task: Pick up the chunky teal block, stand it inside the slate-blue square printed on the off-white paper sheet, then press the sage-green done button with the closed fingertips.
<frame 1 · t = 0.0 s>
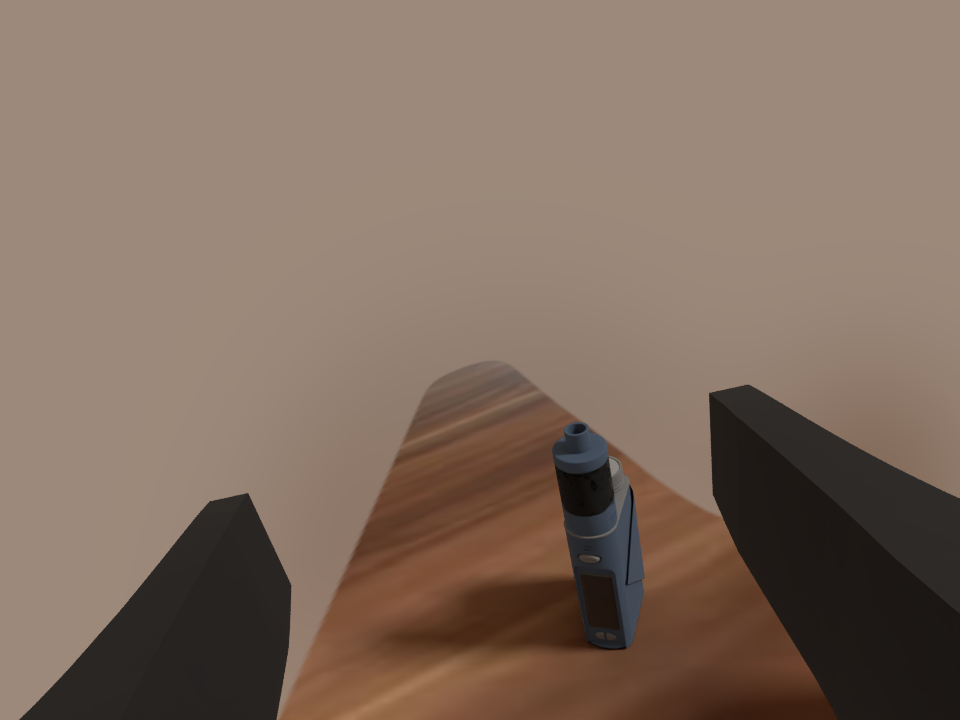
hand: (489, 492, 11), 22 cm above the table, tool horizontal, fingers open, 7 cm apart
vaping device: (616, 615, 37), on the table
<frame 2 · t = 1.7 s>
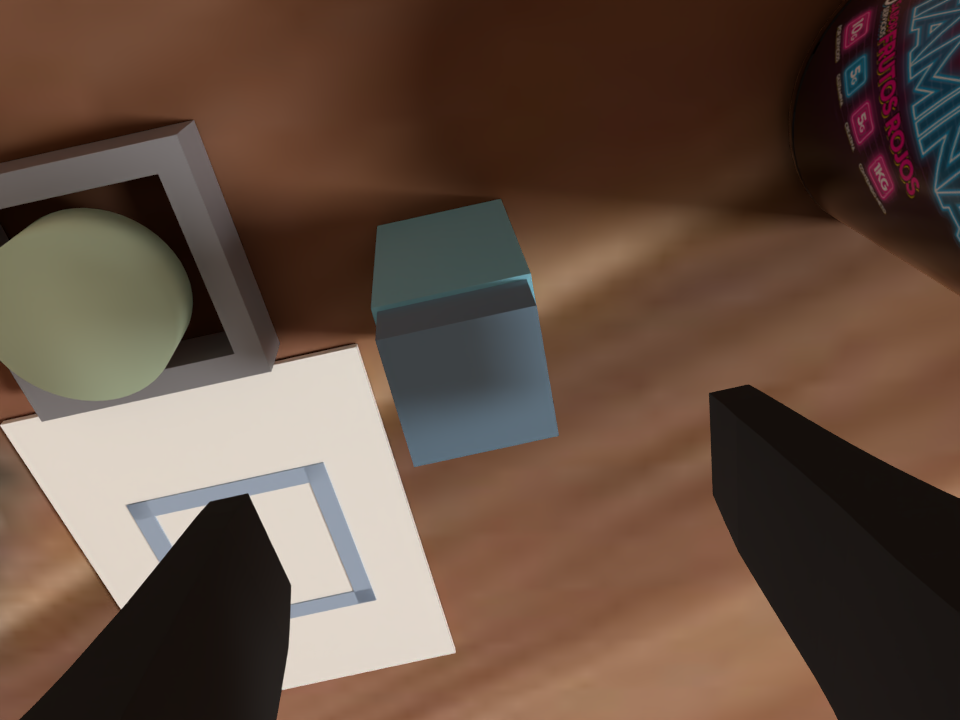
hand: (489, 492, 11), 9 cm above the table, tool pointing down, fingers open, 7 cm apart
button housing: (123, 266, 18), on the table
supplement container: (903, 91, 18), on the table
paper: (260, 550, 23), on the table
teal block: (452, 269, 19), on the table
done button: (90, 306, 16), point 2 cm above the table, slide at 0.0 cm
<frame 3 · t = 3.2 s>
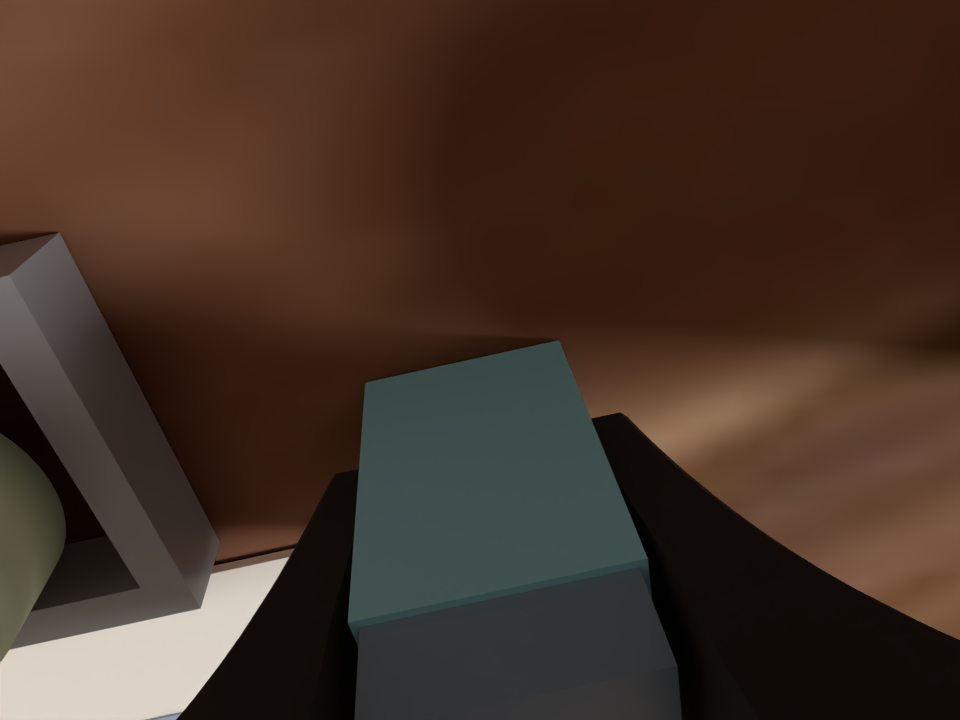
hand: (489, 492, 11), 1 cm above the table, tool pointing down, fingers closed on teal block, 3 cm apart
teal block: (480, 439, 12), on the table, touching gripper
when the fingers open (3 cm above the table, at t = 6.0 s): teal block stays where it is, resting on paper.
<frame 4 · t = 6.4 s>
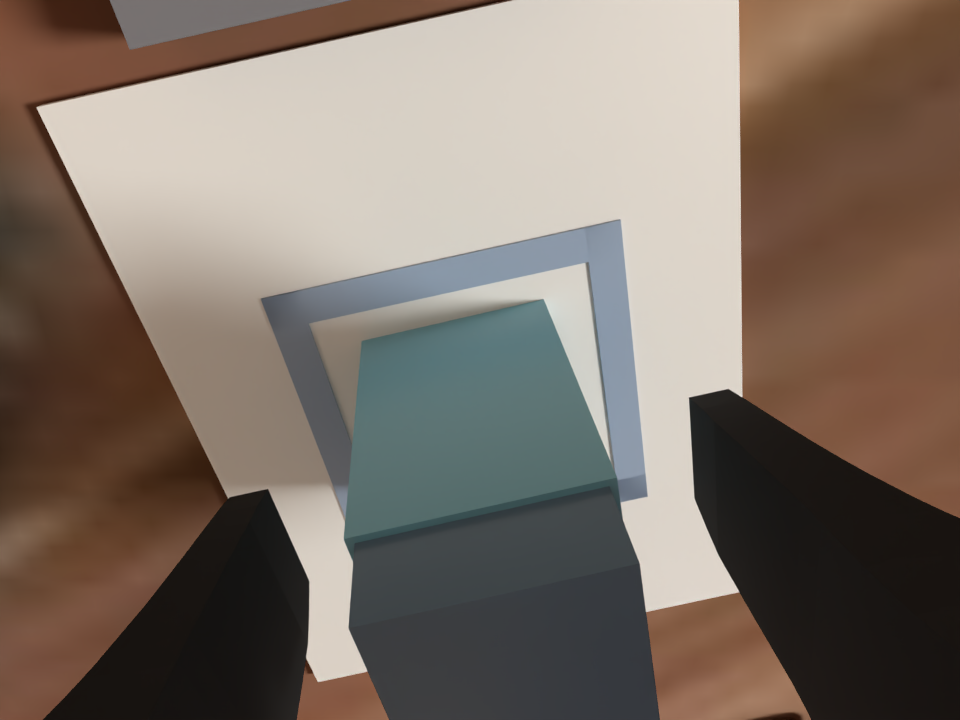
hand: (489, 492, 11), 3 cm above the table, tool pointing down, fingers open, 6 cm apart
paper: (474, 401, 14), on the table
teal block: (471, 396, 13), resting on paper
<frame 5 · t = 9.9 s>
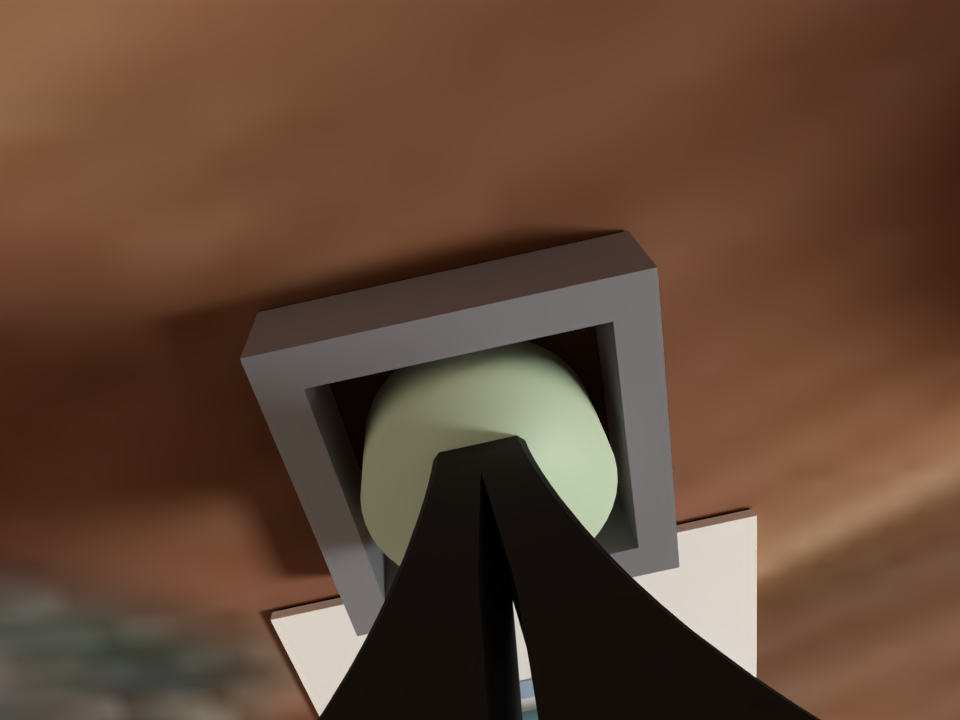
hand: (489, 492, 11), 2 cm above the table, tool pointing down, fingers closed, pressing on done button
button housing: (478, 423, 13), on the table
done button: (485, 464, 12), point 1 cm above the table, slide at -1.1 cm, touching gripper
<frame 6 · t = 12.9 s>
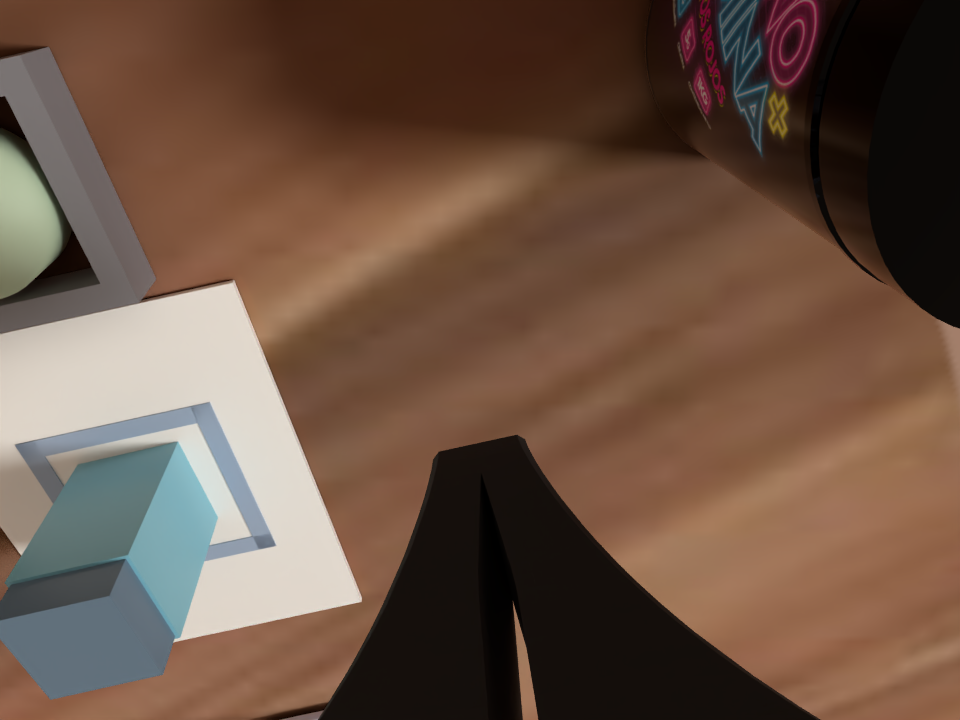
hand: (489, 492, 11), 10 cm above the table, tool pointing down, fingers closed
supplement container: (762, 24, 18), on the table
paper: (156, 493, 23), on the table
teal block: (150, 491, 23), resting on paper
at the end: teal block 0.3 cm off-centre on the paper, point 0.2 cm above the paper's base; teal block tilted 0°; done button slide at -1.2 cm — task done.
